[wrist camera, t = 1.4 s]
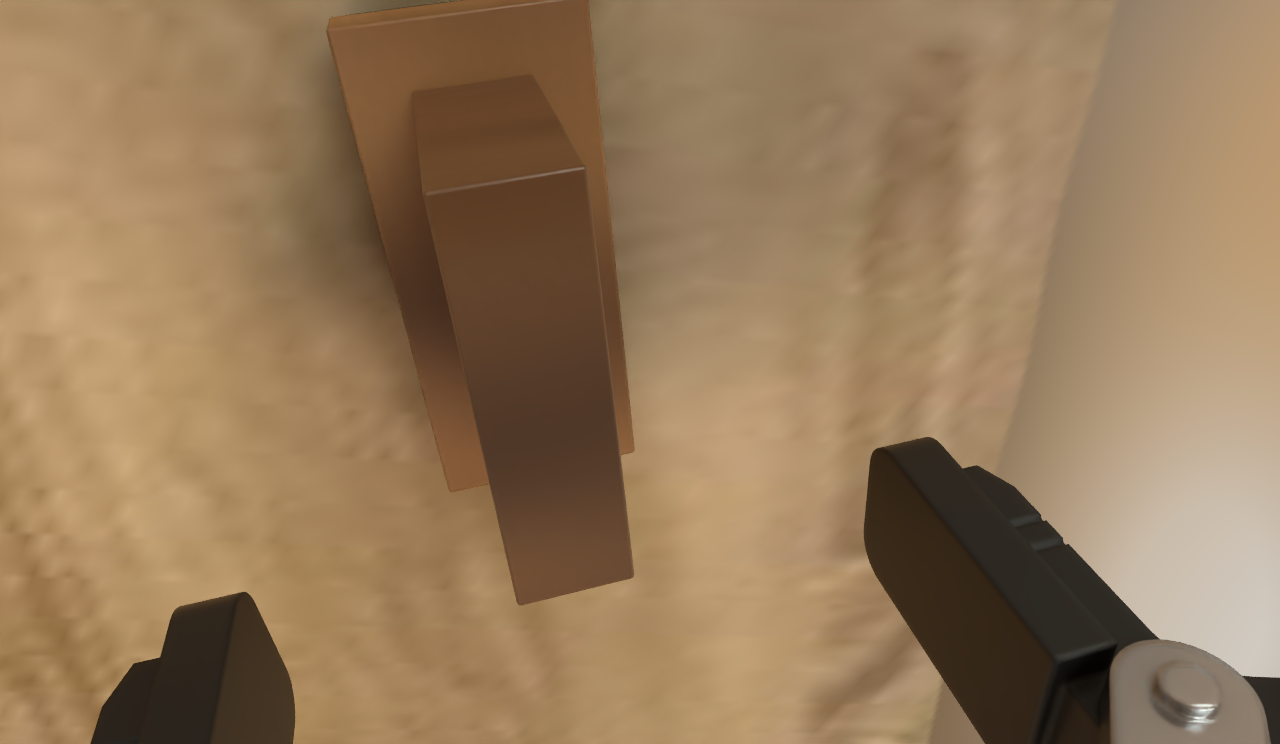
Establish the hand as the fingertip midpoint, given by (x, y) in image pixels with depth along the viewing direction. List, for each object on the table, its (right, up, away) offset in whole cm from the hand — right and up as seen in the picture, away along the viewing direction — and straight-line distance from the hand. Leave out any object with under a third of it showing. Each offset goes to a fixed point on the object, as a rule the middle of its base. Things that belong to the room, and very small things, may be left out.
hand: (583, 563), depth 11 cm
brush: (-3, +6, +8) cm, 10 cm away
